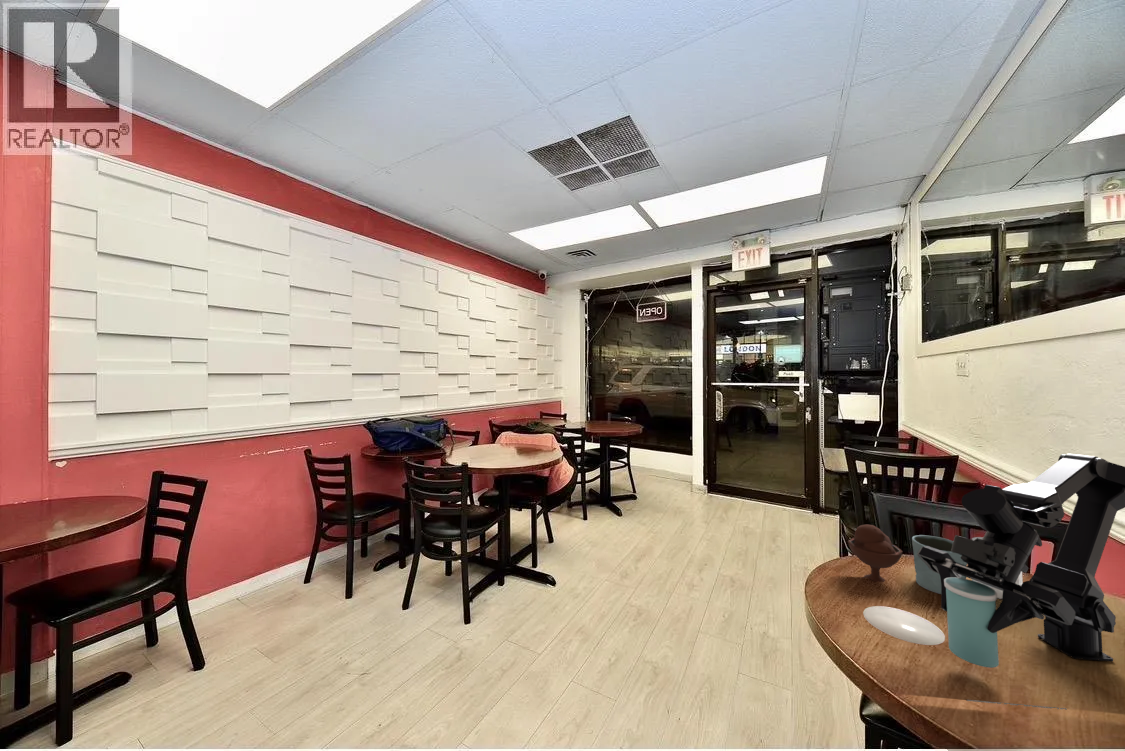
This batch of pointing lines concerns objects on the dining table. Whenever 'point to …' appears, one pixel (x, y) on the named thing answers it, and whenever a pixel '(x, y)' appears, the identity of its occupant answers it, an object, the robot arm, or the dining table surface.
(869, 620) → the cream saucer
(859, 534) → the ice cream bowl
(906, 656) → the dining table surface
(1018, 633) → the dining table surface
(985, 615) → the teal canister
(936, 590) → the grey-blue cup
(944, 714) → the dining table surface
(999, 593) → the jar
